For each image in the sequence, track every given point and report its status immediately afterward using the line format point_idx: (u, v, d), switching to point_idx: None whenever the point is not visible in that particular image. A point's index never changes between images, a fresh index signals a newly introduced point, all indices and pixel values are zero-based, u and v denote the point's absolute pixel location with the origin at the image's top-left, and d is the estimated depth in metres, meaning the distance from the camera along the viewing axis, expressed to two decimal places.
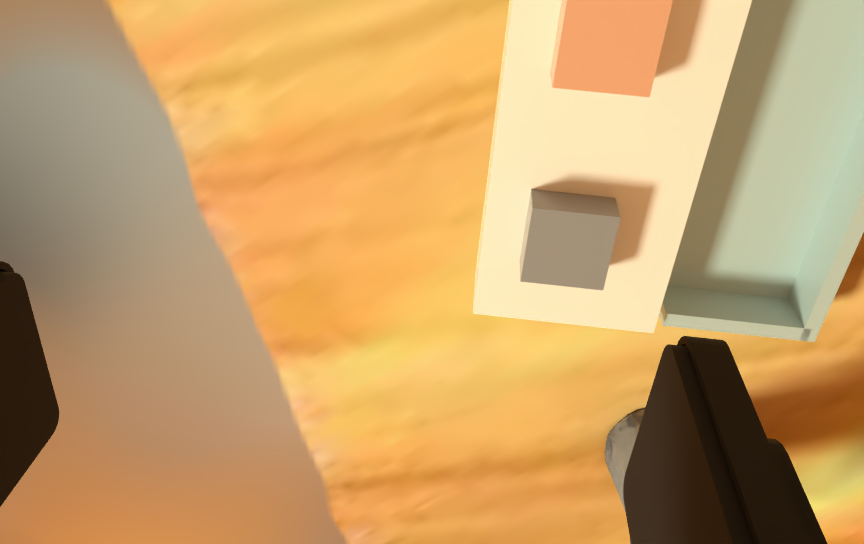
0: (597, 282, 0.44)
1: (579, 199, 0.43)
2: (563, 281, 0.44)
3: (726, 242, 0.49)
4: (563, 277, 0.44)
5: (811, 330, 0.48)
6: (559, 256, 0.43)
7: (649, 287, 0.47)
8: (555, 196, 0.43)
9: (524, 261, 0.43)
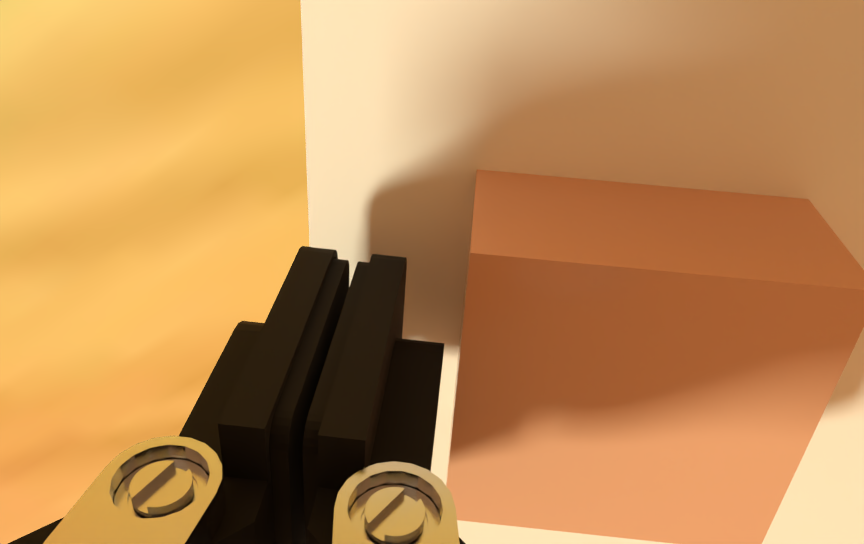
0: None
1: None
2: None
3: None
4: None
5: None
6: None
7: None
8: None
9: None
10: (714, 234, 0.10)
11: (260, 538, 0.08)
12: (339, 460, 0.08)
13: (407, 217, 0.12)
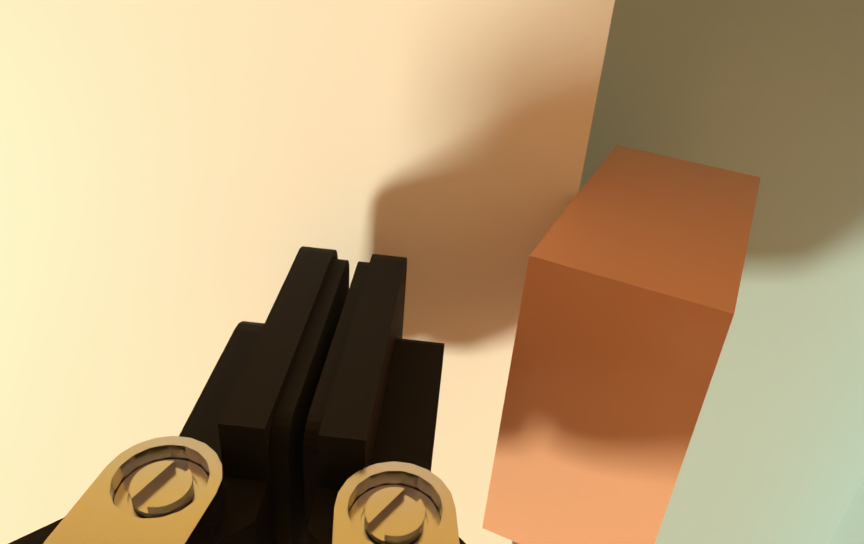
0: None
1: None
2: None
3: None
4: None
5: None
6: None
7: None
8: None
9: None
10: (680, 195, 0.11)
11: (260, 538, 0.08)
12: (339, 460, 0.08)
13: None
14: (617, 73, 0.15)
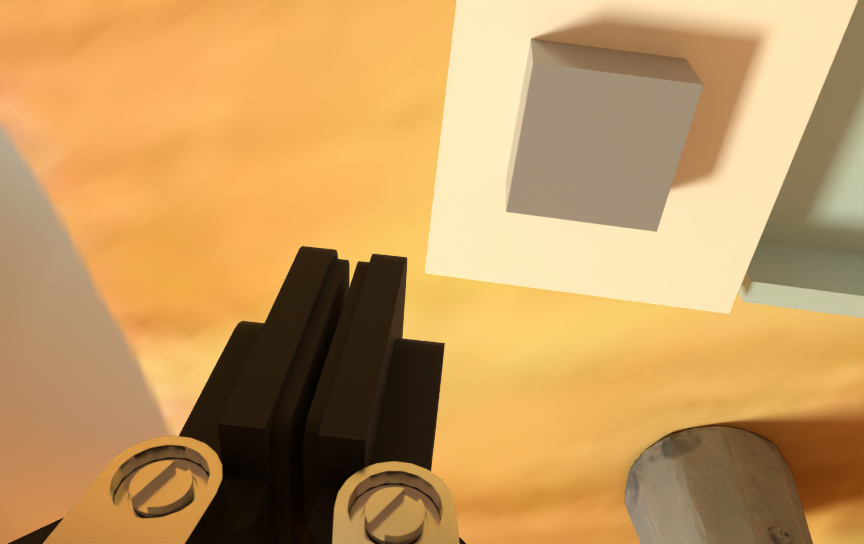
0: (647, 216, 0.24)
1: (622, 57, 0.23)
2: (585, 213, 0.24)
3: (852, 165, 0.30)
4: (585, 205, 0.24)
5: None
6: (579, 163, 0.23)
7: (730, 234, 0.27)
8: (576, 50, 0.23)
9: (514, 172, 0.23)
10: None
11: (260, 538, 0.08)
12: (339, 460, 0.08)
13: None
14: None
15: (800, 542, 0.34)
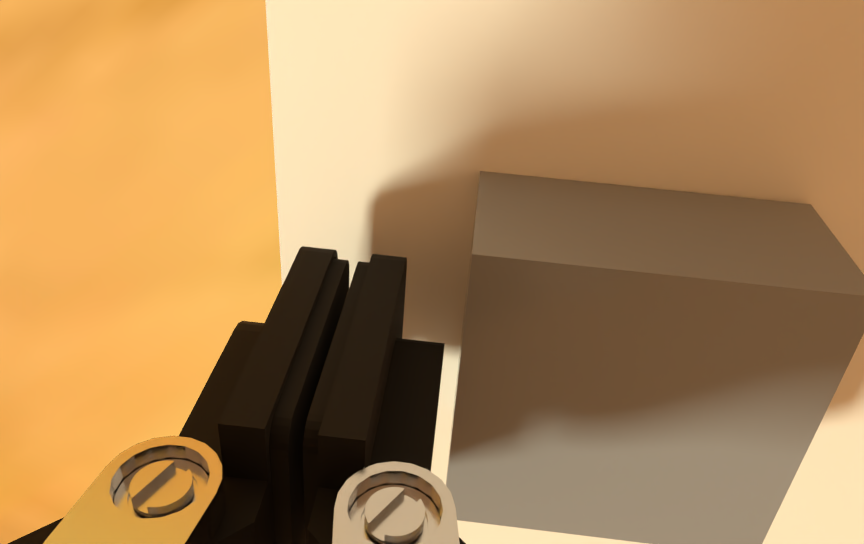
0: (737, 531, 0.11)
1: (676, 214, 0.10)
2: (605, 523, 0.12)
3: None
4: (605, 511, 0.11)
5: None
6: (590, 442, 0.11)
7: (847, 490, 0.14)
8: (577, 198, 0.11)
9: (452, 455, 0.11)
10: None
11: (260, 538, 0.08)
12: (339, 460, 0.08)
13: None
14: None
15: None
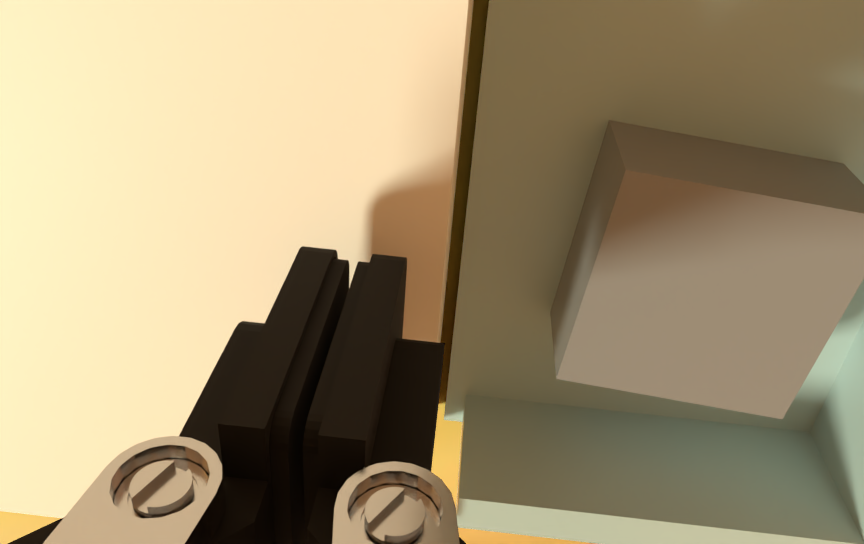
0: None
1: (731, 172, 0.14)
2: None
3: None
4: None
5: None
6: None
7: None
8: (806, 189, 0.14)
9: None
10: None
11: (260, 538, 0.08)
12: (339, 460, 0.08)
13: None
14: None
15: None
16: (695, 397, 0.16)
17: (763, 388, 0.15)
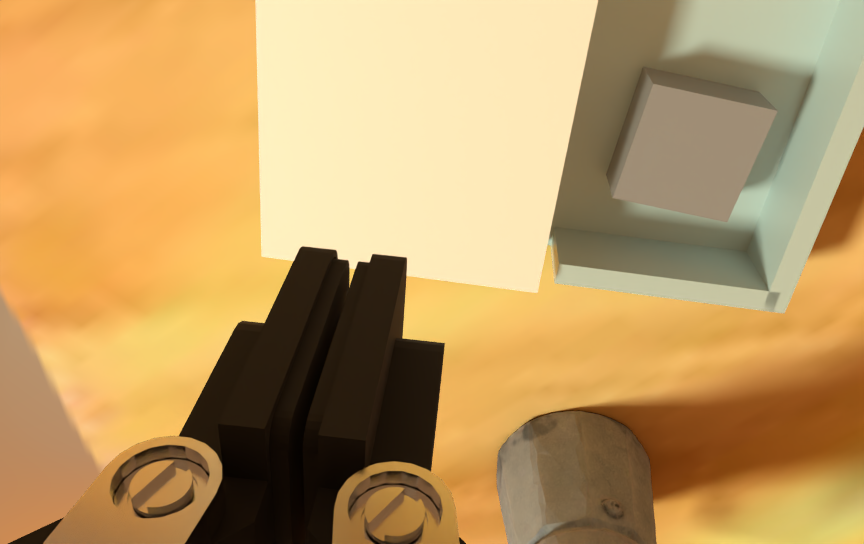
0: None
1: (702, 89, 0.29)
2: None
3: None
4: None
5: (779, 294, 0.32)
6: None
7: (525, 217, 0.30)
8: (737, 98, 0.29)
9: None
10: None
11: (260, 538, 0.08)
12: (339, 460, 0.08)
13: None
14: None
15: (632, 513, 0.36)
16: (683, 208, 0.31)
17: (717, 203, 0.31)
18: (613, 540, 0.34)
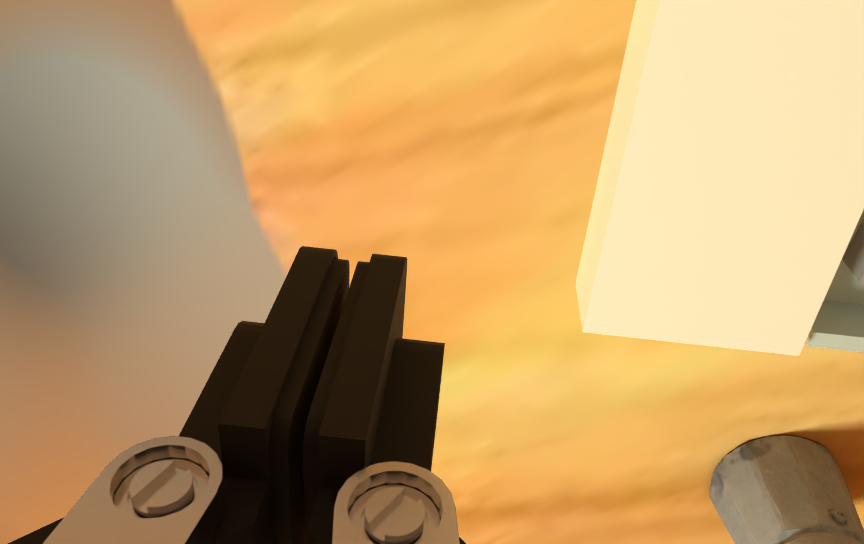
0: None
1: None
2: None
3: None
4: None
5: None
6: None
7: (800, 302, 0.39)
8: None
9: None
10: None
11: (260, 538, 0.08)
12: (339, 460, 0.08)
13: None
14: None
15: (852, 520, 0.45)
16: None
17: None
18: (847, 543, 0.43)
